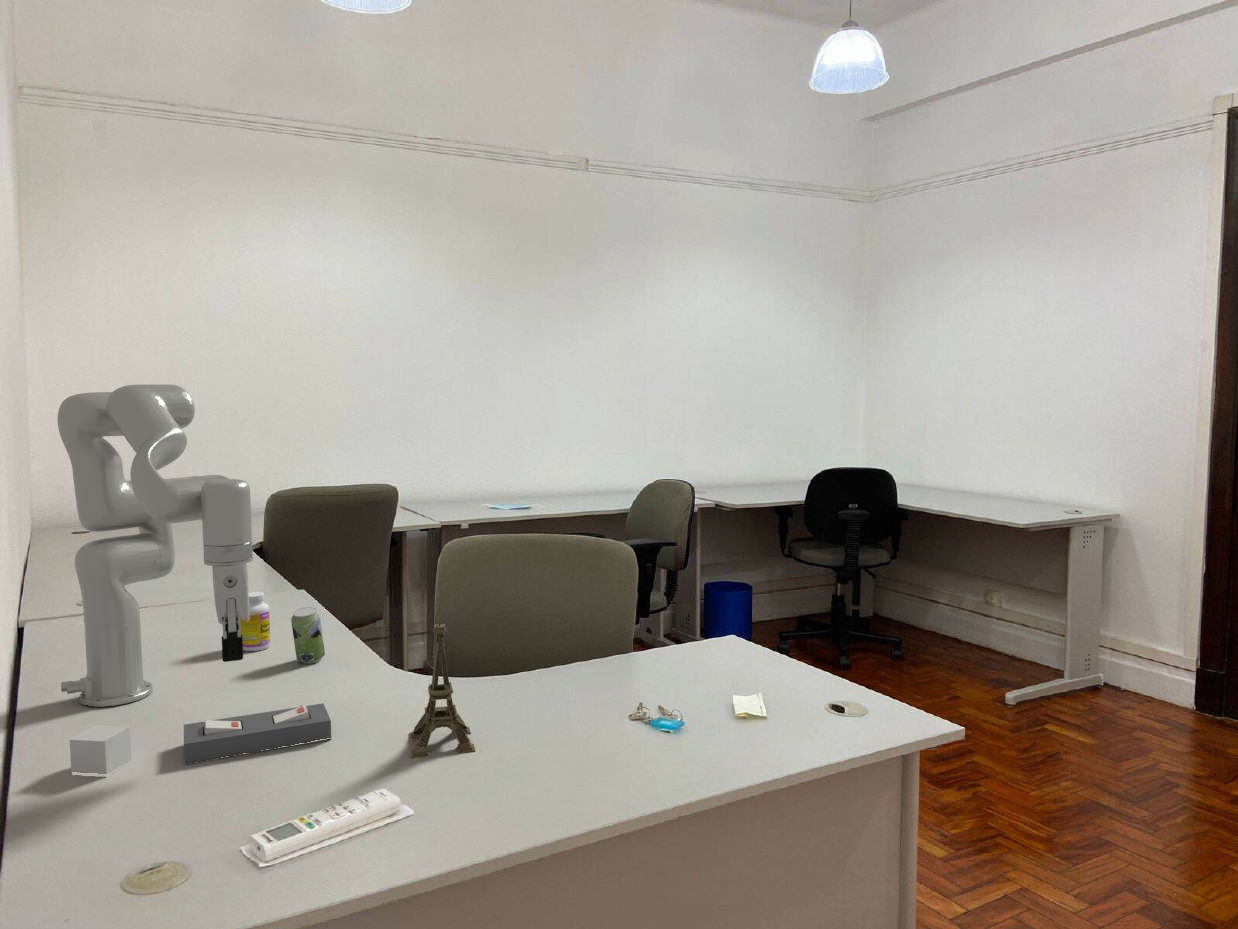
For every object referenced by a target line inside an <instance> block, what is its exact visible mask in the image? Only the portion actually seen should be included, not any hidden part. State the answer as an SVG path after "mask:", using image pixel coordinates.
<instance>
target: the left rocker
mask: <svg viewBox="0 0 1238 929" xmlns="http://www.w3.org/2000/svg"><path fill="white" fill-rule="evenodd" d="M213 720H214V719H212V720H211V719H209V720H207V719H204V722H205V725H204V732H205V735H210V734H217V733H223V732H229V731H235V730H242V727H241V721H213Z"/></svg>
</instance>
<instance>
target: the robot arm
mask: <svg viewBox="0 0 1238 929" xmlns="http://www.w3.org/2000/svg"><path fill="white" fill-rule="evenodd" d="M195 410H196V409H195V403H194V400H193V398H192V396H191V395H190V393H189V392H188V390H186V389H185V388H183V387H182V386H180V385H176V384H128V385H124V386H120V387H118V388H117V389H115V390H113V391H100V392H99V391H97V392H96V391H94V392H93V391H92V392H83V393H78V394H77V393H76V394H73V395H70V396H67V397H66V398H65V399H64V400H63V401H62V402H61V403H60V405H59V408H58V412H57V428H58V433H59V436H60V439H61V442H62V443H63V446H64V449H65V450H66V452H67V455H68V457H69V460H70V463H71V472H72V478H73V486H74V494H75V501H76V502H75V503H76V509H77V515H78V520H79V522H80V525H81V526H82V528H83V529H85V530H86V531H89V532H94V533H95V532H96V533H98V532H99V533H100V532H109V531H110V532H111V531H118V530H119V531H120V530H126V529H127V530H128V529H132V528H137V529H138V531H139V533H137V534H130V535H129V534H128V535H120V536H113V537H105V538H100V539H95V540H92V541H90V542H87V543H86V544H84V545H82V546H81V547H80V548H79V549H78V550H77V551H76V554H75V556H74V567H75V573H76V576H77V580H78V584H79V589H80V592H81V599H82V611H83V623H84V637H85V638H84V639H85V656H86V658H85V659H86V675H85V677H80V679H79V680H68V681H61V683H60V689H61V693H65V692H66V694H75V693H80V694H79V696H78V700H79V703H80V704H82V705H83V706H86V705H88V706H87V707H92V706H93V707H94V708H96V707H97V708H102V707H103V708H106V707H114V706H119V705H126V704H130V703H132V702H136V701H139V700H142V699H144V698H146V697H148V696H149V695H150V694H151V693H152V692H153V684H152V683H151V682H149V681H147V680H144V670H143V668H144V667H143V651H142V646H143V645H142V630H141V626H142V625H141V614H140V612H141V611H140V606H139V603H138V601H137V599H136V598H135V597H134V596H133V595H132V594H131V593H130V592H129V591H128V590H127V589H126V586H127V585H130V584H135V583H140V582H145V581H151V580H156V579H161V578H163V577H166V576H168V575H169V574H170V573H172V571H173V569H174V566H175V560H176V557H175V556H176V554H175V543H174V535H173V534H174V533H173V527H172V524H178V523H184V522H192V521H202V523H201V525H202V541H203V542H202V543H203V564H204V565H206V566H211V567H212V569H211V571H212V586H213V598H214V606H215V611H216V617H217V621H218V624H219V625H221V626H222V636H221V655H222V656H221V657H222V662H224V663H227V662H236V661H242V660H243V659H244V651H243V639H242V634H241V624H240V623H241V620H240V617H241V619H242V620H246V622H248V621H249V620H250V613H249V593H250V591H249V576H248V574H249V573H248V566H247V564H248V563H251V562H253V561H254V551H253V537H252V536H253V531H252V530H253V529H252V506H251V505H252V504H251V488H250V484H249V483H248V482H247V481H246V480H243V479H237V478H229V477H227V476H224V475H222V474H221V475H220V474H209V475H208V474H207V475H206V474H205V475H194V476H183V477H182V476H181V477H174V478H173V477H171V478H164V477H162V476H161V475H160V473H159V470H161V469H163V468H165V467H166V466H168V465H170V464H172V463H173V462H175V461H176V460H177V459H179V458H180V457H181V456H182V454H183V453H184V451H185V450H186V448H187V444H188V440H187V435H186V433H185V431H184V430H183V429H184V428H186V427H188V426H189V425H191V423H192V421H193V420H194V417H195V413H196V412H195ZM122 436H123V437H124V438H125V440H126V441H127V443H128V444H129V445H130V447H131V448H132V450H133V451H134V452H135V456H134V457H133V459H132V462H131V466H130V471H129V472H130V476H129V477H130V480H129V479H128V480H126V478H125V474H124V468H123V465H124V464H123V460H122V456H121V455H120V453H119V452H118V451H117V450H116V448H115V447H114V446H113V445H112V444H111V443H110V442H109V441H108V440H107V439H105V438H104V437H122ZM93 707H92V708H93Z"/></svg>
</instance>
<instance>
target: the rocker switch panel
mask: <svg viewBox="0 0 1238 929" xmlns="http://www.w3.org/2000/svg"><path fill="white" fill-rule="evenodd" d="M301 706H302V705H300V706H298V707H301ZM298 707H296V706H295V707H290V708H283V709H277V710H271V711H265V712H264V711H263V712H257V713H251V714H245V715H238V716H230V717H225V718H219V719H218V718H217V719H212V720H213V721H241V727H242V730H235V731H229V732H223V733H217V734H210V735H205V732H204V725H205V721H200V722H194V723H193V722H192V723H186V724H183V754H184V757H183V758H184V765H185V764H187V765H190V764H189V763H192V764H196V763H195V762H198V763H202V762H201V761H204V762H207V761H206V760H210V761H214V760H213V759H216V758H221V757H226V756H233V757H235V756H234V755H239V754H243V753H251V754H254V753H253V752H257V751H261V750H266V749H274V748H278V747H282V746H291V745H295V744H299V743H307V742H311V741H315V740H320V739H327V738H331V739H332V720H331V717H330V715H329V713H328V710H327V708H326V706H325V704H324V703H317V704H309V705H306V707H307V710H308V713H309V717H310V718H309V719H304V720H298V721H292V722H286V723H279V724H275V722H274V718H273V716H276V715H278V714H281V713H284V712H287V711H290V710H293V709H296V708H298ZM274 750H275V749H274ZM257 753H258V752H257ZM239 756H240V755H239ZM216 760H217V759H216Z"/></svg>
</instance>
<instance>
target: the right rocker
mask: <svg viewBox="0 0 1238 929" xmlns="http://www.w3.org/2000/svg"><path fill="white" fill-rule="evenodd" d="M300 706H301V707H300ZM300 706H298V708H296V707H295V708H296V709H293V710H290V711H287V712H284V713H281V714H278V715H276V716H273V718H274V722H275V724H279V723H286V722H292V721H298V720H304V719H309V718H310V717H309V713H308V710H307V707H306V706H307V705H306V704H305V705H300Z"/></svg>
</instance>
